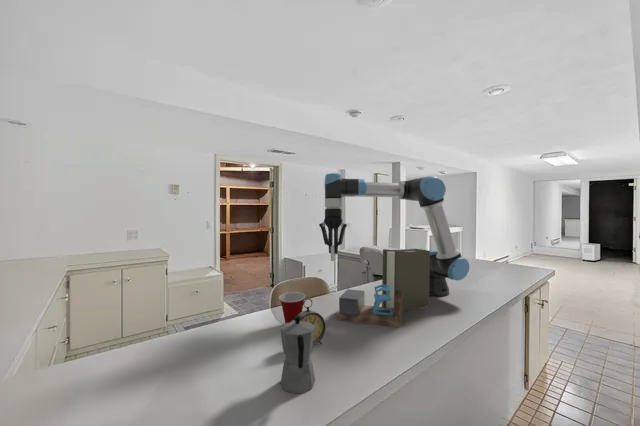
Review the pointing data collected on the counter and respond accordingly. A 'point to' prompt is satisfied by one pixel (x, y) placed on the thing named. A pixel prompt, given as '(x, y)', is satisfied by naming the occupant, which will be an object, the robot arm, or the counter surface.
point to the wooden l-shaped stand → (371, 318)
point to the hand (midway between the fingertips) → (333, 260)
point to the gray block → (351, 302)
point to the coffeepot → (297, 356)
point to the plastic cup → (292, 304)
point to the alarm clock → (314, 323)
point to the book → (407, 277)
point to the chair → (382, 300)
